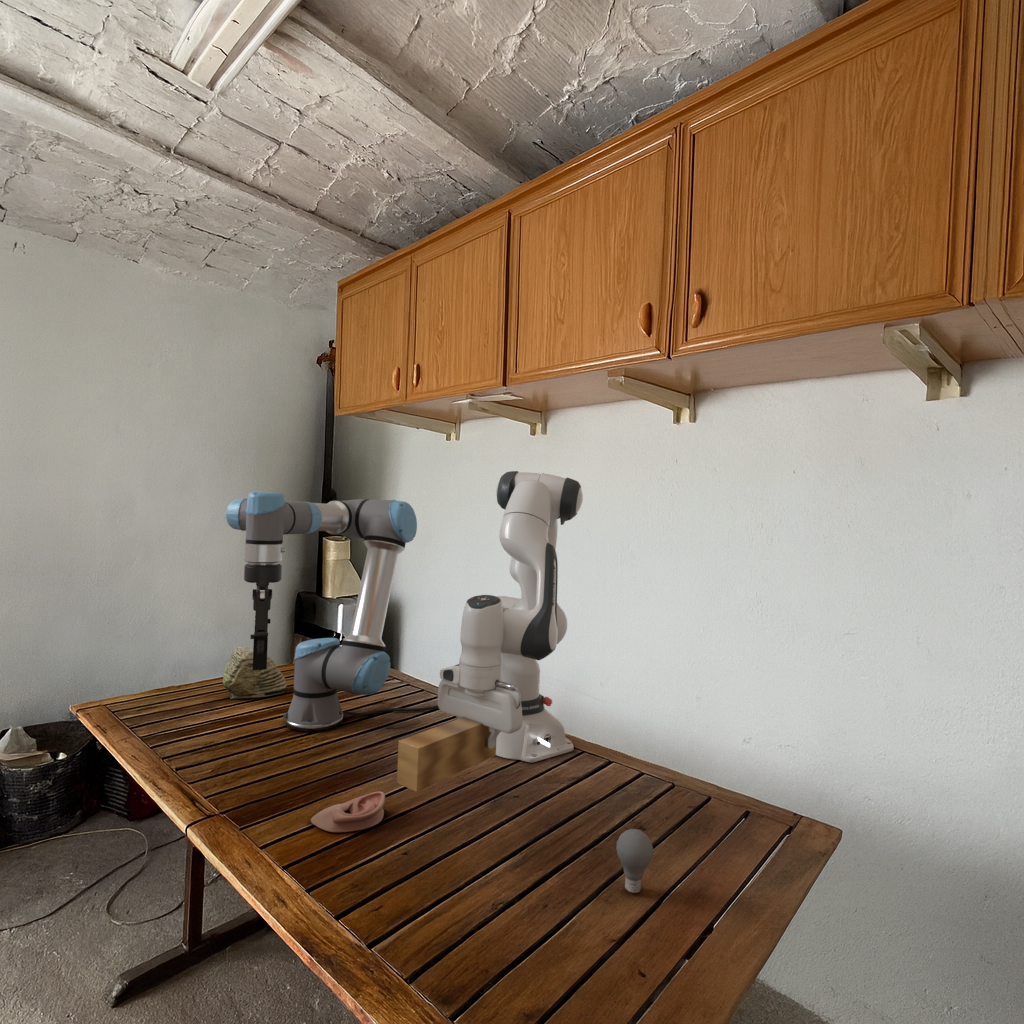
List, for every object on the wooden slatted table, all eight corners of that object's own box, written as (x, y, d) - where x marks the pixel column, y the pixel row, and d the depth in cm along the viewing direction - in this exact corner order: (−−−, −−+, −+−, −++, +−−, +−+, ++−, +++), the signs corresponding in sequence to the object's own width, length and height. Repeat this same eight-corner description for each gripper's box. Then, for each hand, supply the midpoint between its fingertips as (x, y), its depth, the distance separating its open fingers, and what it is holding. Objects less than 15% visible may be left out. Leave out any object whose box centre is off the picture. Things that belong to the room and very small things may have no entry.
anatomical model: (303, 807, 121) (332, 781, 132) (302, 827, 121) (331, 800, 132) (368, 817, 118) (392, 790, 129) (367, 838, 118) (391, 809, 129)
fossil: (218, 695, 195) (220, 647, 195) (278, 685, 208) (279, 640, 207) (228, 703, 189) (230, 653, 188) (289, 692, 201) (290, 645, 201)
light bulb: (610, 879, 108) (613, 822, 108) (644, 879, 109) (647, 822, 109) (619, 902, 102) (622, 840, 102) (655, 901, 103) (658, 840, 103)
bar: (416, 792, 113) (418, 748, 113) (396, 783, 116) (398, 740, 116) (495, 755, 131) (497, 717, 131) (476, 748, 134) (478, 711, 134)
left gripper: (283, 570, 126) (279, 675, 127) (280, 557, 150) (277, 646, 150) (242, 570, 124) (238, 678, 124) (246, 557, 147) (242, 648, 147)
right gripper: (530, 683, 126) (527, 752, 126) (454, 663, 138) (451, 726, 138) (511, 690, 121) (507, 762, 121) (434, 669, 133) (431, 734, 133)
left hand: (259, 661), depth 137 cm, fingers open, 13 cm apart
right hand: (477, 742), depth 130 cm, fingers closed on bar, 5 cm apart
